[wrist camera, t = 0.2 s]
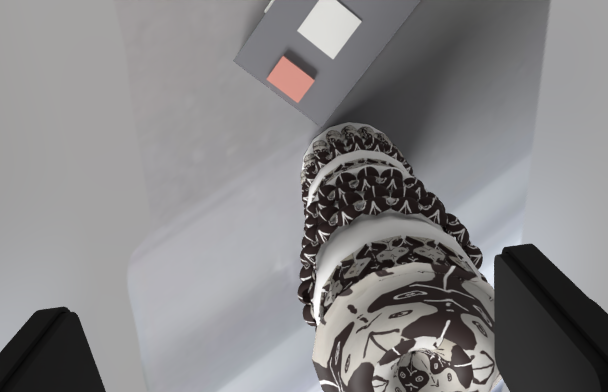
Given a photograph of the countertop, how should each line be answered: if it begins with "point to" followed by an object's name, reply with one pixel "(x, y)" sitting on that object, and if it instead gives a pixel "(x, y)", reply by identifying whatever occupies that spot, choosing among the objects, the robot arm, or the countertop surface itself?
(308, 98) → the power strip
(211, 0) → the countertop surface
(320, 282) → the decorative candle
